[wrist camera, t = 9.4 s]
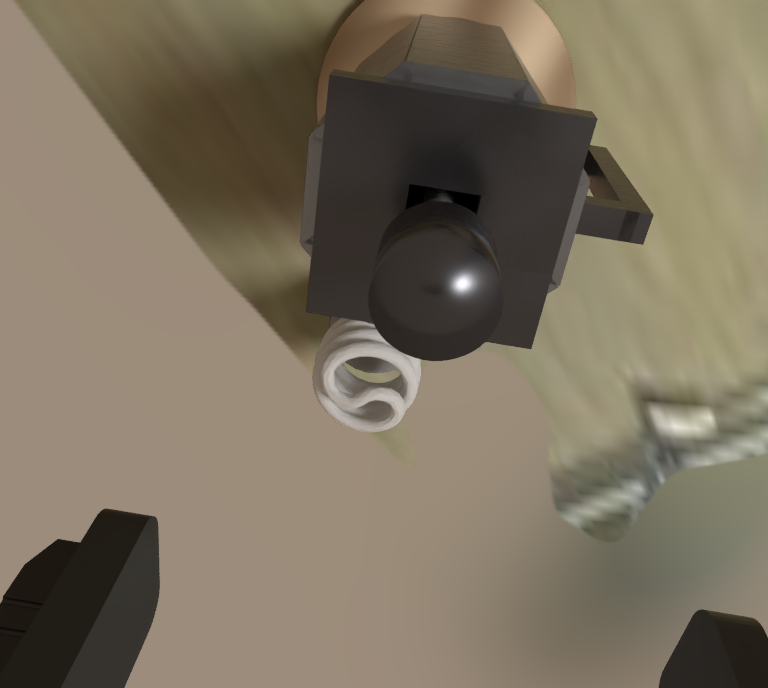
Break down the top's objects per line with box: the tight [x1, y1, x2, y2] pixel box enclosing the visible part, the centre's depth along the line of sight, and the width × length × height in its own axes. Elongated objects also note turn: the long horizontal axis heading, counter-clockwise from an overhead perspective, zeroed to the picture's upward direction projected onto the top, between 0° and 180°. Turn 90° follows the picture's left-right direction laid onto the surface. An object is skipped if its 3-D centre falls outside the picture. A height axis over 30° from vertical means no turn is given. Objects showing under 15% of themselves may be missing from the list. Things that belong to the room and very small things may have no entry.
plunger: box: [368, 184, 504, 361], centre depth 28 cm, size 7×7×20 cm
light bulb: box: [312, 316, 421, 432], centre depth 40 cm, size 6×6×12 cm
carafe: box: [300, 14, 653, 349], centre depth 32 cm, size 13×10×17 cm
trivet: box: [317, 0, 576, 122], centre depth 39 cm, size 14×14×1 cm
